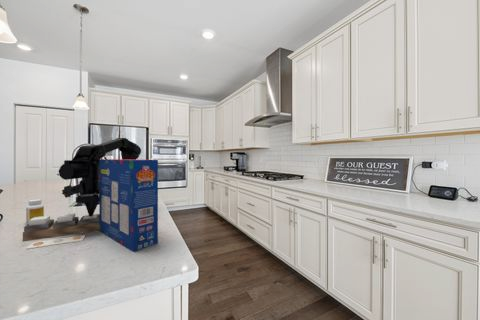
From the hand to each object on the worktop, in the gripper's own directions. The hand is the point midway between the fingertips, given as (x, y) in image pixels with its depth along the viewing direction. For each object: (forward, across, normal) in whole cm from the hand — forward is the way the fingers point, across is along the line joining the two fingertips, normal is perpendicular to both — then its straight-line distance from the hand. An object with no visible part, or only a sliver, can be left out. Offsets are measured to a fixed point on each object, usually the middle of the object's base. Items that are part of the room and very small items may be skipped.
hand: (90, 216), depth 80 cm
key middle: (+1, 0, -8) cm, 8 cm away
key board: (+5, 0, -8) cm, 9 cm away
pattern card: (+5, +10, -8) cm, 14 cm away
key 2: (+2, 0, 0) cm, 2 cm away
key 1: (+1, 0, -15) cm, 15 cm away
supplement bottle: (+5, -22, -23) cm, 32 cm away
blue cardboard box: (+5, +16, +13) cm, 21 cm away
